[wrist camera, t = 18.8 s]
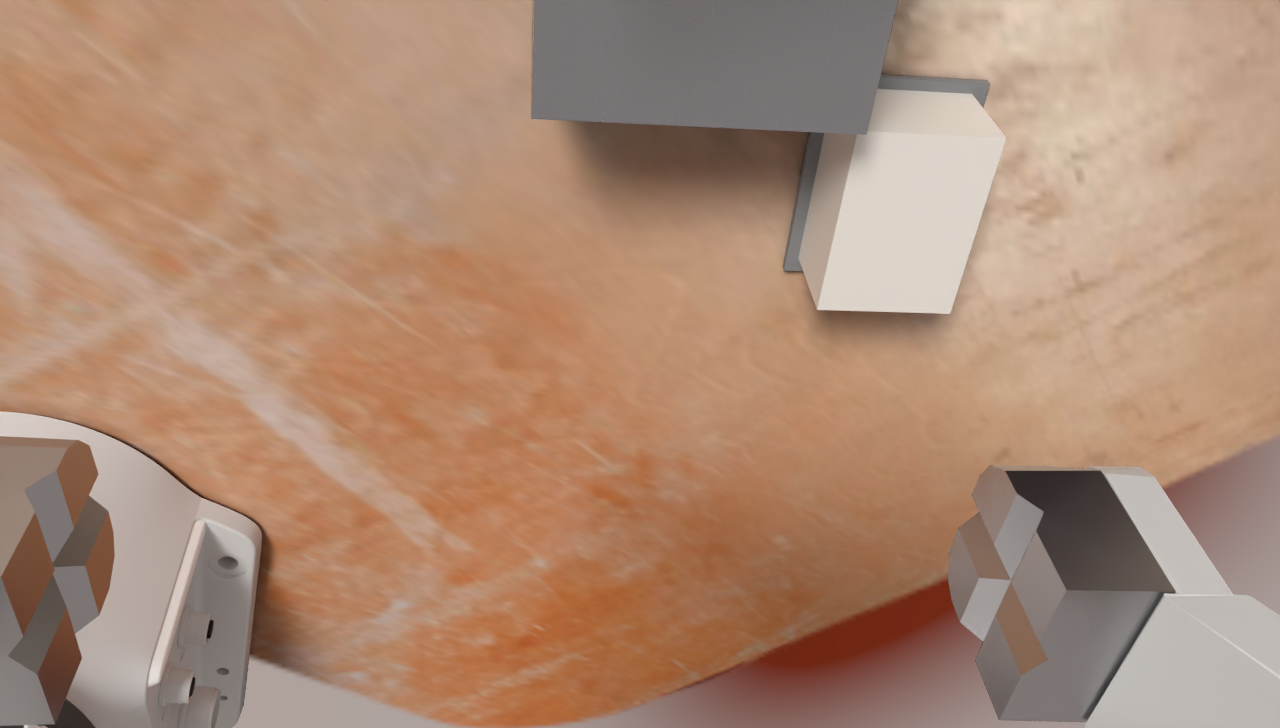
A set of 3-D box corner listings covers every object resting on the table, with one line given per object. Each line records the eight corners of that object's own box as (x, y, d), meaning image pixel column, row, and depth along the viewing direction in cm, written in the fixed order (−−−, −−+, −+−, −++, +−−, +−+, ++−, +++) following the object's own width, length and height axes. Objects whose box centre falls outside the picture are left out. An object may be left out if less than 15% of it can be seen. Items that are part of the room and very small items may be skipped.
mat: (930, 271, 43) (932, 275, 42) (782, 266, 42) (784, 270, 42) (987, 80, 38) (990, 83, 38) (821, 71, 37) (823, 74, 37)
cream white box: (923, 262, 42) (950, 313, 39) (798, 257, 41) (817, 309, 39) (972, 94, 38) (1006, 138, 35) (834, 86, 37) (857, 131, 34)
